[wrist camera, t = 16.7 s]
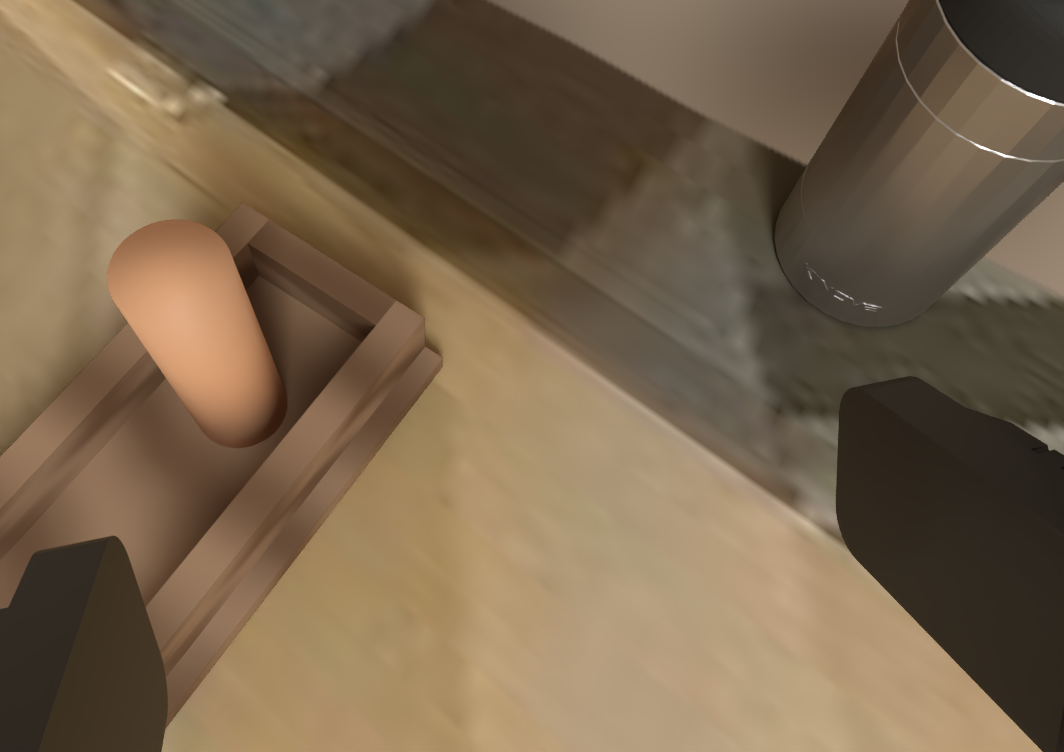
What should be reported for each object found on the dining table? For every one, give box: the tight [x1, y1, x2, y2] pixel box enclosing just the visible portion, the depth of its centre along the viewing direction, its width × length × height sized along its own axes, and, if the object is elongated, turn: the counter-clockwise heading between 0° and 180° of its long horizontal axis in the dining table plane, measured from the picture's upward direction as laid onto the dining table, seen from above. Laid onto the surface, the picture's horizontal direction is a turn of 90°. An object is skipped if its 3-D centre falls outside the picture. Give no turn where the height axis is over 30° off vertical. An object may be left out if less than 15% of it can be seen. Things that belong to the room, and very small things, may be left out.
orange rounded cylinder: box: [107, 220, 288, 448], centre depth 36 cm, size 4×4×12 cm
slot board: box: [0, 203, 443, 729], centre depth 40 cm, size 20×12×4 cm, turn 147°
